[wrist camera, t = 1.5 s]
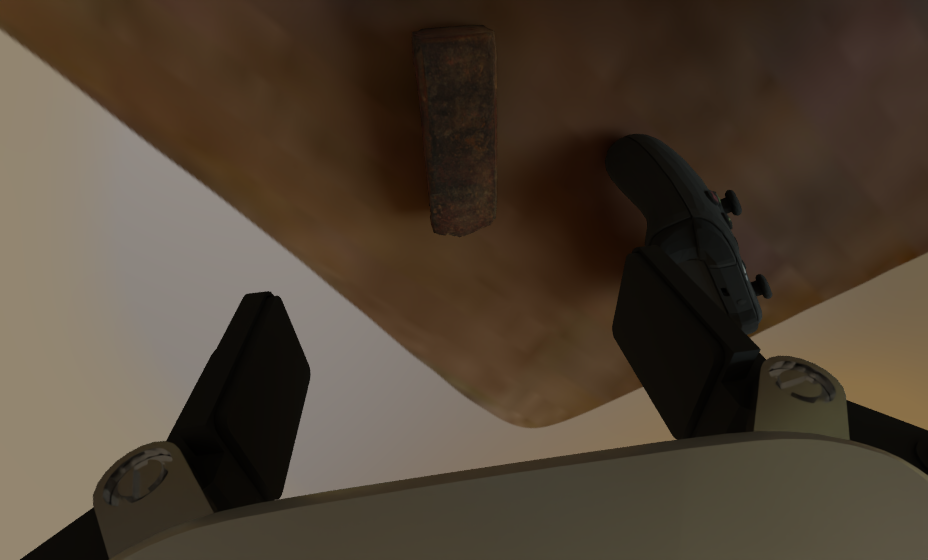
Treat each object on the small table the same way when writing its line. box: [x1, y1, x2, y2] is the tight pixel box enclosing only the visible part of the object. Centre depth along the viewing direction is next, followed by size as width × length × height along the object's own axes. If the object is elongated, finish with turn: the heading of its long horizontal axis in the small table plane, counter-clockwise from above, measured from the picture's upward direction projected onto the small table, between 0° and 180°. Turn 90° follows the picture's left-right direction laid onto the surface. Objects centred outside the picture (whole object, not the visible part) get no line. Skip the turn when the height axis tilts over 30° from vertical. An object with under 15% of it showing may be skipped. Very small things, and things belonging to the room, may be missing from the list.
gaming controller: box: [605, 134, 772, 335], centre depth 26 cm, size 14×6×10 cm, turn 36°
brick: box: [412, 25, 497, 237], centre depth 23 cm, size 11×4×5 cm, turn 3°
